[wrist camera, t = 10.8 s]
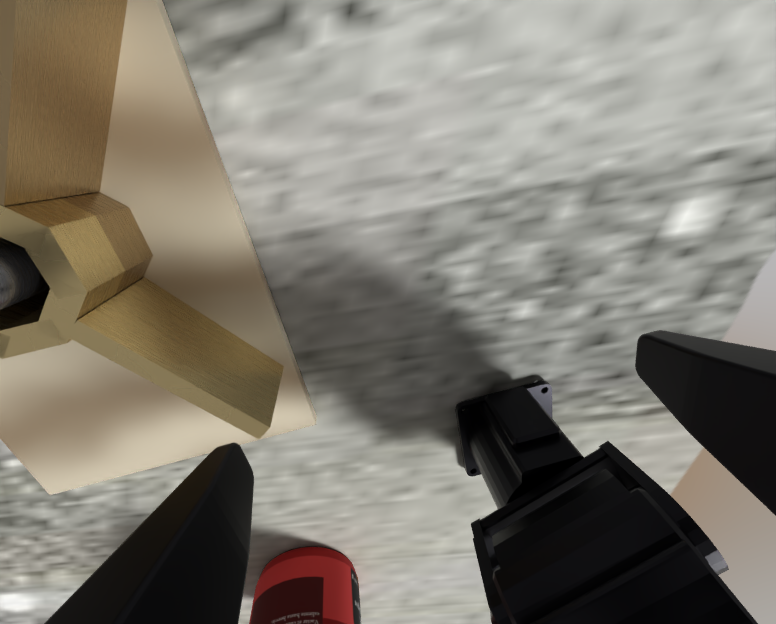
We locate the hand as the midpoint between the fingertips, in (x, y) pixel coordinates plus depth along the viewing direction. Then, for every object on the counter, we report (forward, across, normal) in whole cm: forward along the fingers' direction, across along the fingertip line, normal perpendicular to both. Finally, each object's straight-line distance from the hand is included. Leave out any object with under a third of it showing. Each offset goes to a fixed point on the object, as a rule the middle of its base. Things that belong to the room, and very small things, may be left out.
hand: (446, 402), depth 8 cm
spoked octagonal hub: (+12, +11, -4) cm, 17 cm away
